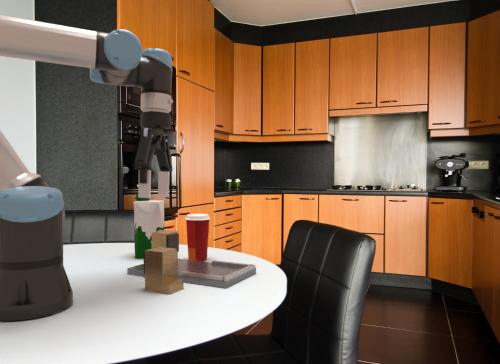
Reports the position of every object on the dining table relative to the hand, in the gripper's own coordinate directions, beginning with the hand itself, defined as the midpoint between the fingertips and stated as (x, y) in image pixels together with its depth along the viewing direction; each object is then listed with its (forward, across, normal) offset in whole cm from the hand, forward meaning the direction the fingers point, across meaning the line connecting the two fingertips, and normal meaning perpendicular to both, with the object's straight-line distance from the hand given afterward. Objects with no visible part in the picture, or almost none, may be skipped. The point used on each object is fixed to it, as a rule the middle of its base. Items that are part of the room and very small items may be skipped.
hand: (154, 196), depth 100 cm
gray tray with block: (+20, +6, -9) cm, 23 cm away
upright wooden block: (+21, -9, -5) cm, 23 cm away
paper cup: (+20, +23, -6) cm, 31 cm away
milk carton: (+21, +26, +11) cm, 35 cm away
